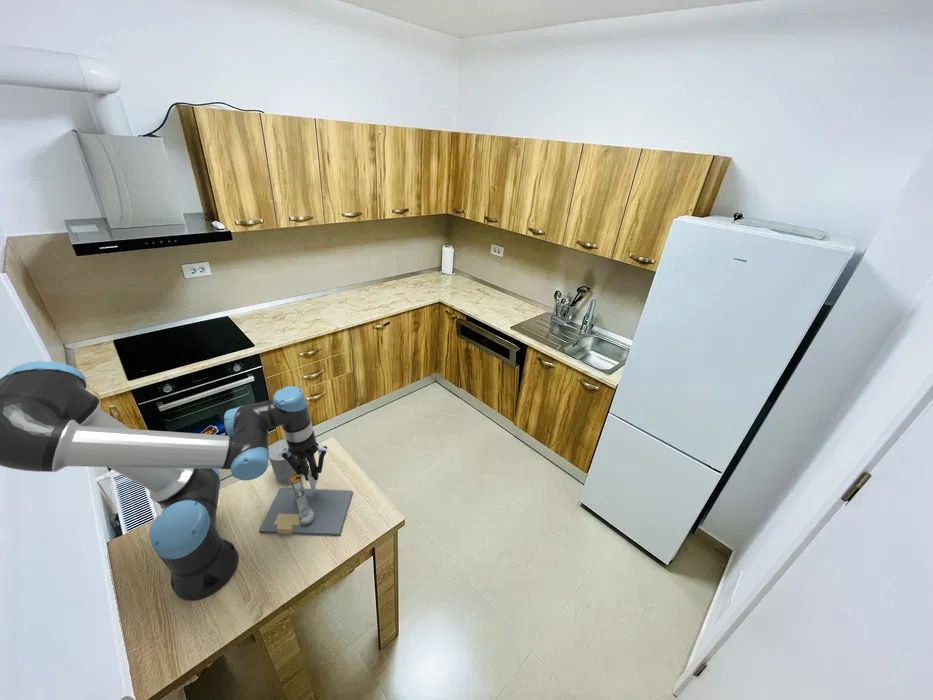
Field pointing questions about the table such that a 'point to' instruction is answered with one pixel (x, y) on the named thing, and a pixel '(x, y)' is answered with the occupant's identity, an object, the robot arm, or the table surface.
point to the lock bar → (301, 500)
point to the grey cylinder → (280, 462)
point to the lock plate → (321, 508)
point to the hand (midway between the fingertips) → (314, 485)
